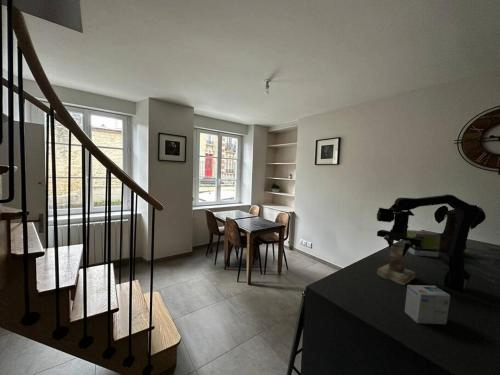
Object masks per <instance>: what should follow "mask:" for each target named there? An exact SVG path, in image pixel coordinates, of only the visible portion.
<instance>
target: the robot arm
mask: <svg viewBox="0 0 500 375" xmlns="http://www.w3.org/2000/svg"><path fill="white" fill-rule="evenodd" d="M436 205H439V206H440V205H448V206H449V207H451V208H452V209H453V210H454V213H455V217H456V219H455V230H454V234H453V238H452V241H451V245H450V249H449V251H448V252H447V253H444V252H442V253H441V258H440V260H439V261H441V265H442V266H443V267H444V270H445V271H446V274H444V279H443V284H444V285H443V286H444V287H446V288H449V289H452V290H454V291H457V292H460V293H463V292H464V291H465V289H466V280H467V281H469V279H470V278H471V274H469V272H467V271H466V270H465V259H464V252H465V251H464V248H465V244H466V245H467V241H468V237H469V233H470V231H471V230H470V229H471V226H472V224H474V223H475V222H476V220H477V219H478V217H479V215H480V214H481V210H480V208H479V207H478V206H477V205H474V204H470V203H468V202H466V201H463V200H462V199H460V198H458V197H456V196H455V195H453V194H448V193H447V194H444V195H443V194H441V195H435V196H434V195H433V196H426V197H417V198H416V197H397V198H396V199H395V200H394V203H393V204H392V205H391V206H390V207H389V208H385V207H378V211H377V213H376V221H377V222H382V223H392V222H393V225H392V227H391V229H390V230H386V229H380V230H379V229H378V231H377V233H376V236H377V237H380V238H383V240H385V241H386V243H387V244H388V248H389V250H390V249H391V246H392V245H394V244H395V241H396V242H401V240H402V241H405V243H404V252H403V256H405V257H406V255H407V253H408V250H409V248H410V247H411V246H413V245H416V246H422V245H424V239H422V238H418V237H413V238H409V237H407V230H409V217H410V216H411V217H412V216H413V217H414V216H415V214H414V213H413V212H412V210H414V209H417V208H420V207H428V206H436ZM406 242H407V243H406Z"/></svg>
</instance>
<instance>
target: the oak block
mask: <svg viewBox="0 0 500 375" xmlns="http://www.w3.org/2000/svg"><path fill="white" fill-rule="evenodd" d="M404 247H405V245H404V246H403V245H399V244H395V243H394V245H392V246H391V249H390V248H389V256H390V257H393V258H396V259H400V260H403V259H404V258H406V255H405V256H403V252H404Z"/></svg>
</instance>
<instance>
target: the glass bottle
mask: <svg viewBox="0 0 500 375" xmlns="http://www.w3.org/2000/svg"><path fill="white" fill-rule="evenodd" d="M445 216H446V222H445V225H444V229H443V231H442V232H441V233H437V234H438V235H440V247H439V252H444V253H447V252H448V251H449V249H450V245H451V241H452V238H453V234H454V230H455V226H456V217H455V212H451V211H449V212H448V211H447V214H445ZM466 249H467V243H466V244H465V248H464V252H465V251H466Z"/></svg>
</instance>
